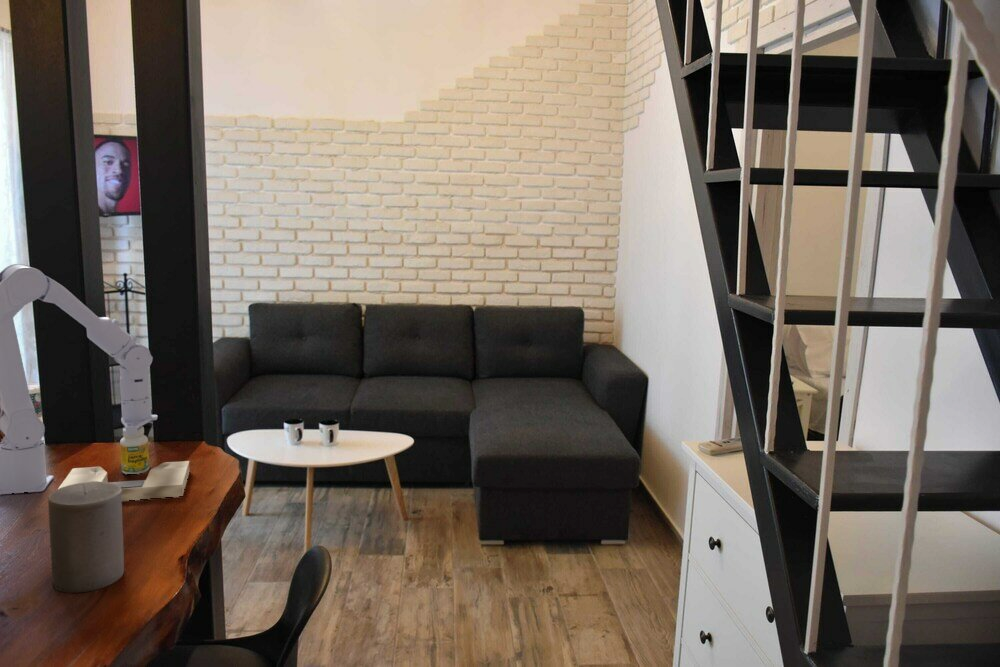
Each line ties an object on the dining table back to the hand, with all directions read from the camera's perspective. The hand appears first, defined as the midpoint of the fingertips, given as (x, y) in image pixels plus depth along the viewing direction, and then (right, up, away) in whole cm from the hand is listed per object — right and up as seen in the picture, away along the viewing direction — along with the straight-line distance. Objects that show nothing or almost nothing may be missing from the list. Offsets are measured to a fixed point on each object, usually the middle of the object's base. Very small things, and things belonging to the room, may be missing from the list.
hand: (139, 457), depth 158 cm
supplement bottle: (+1, -2, -4) cm, 4 cm away
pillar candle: (+16, -10, -47) cm, 51 cm away
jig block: (+4, -4, -13) cm, 14 cm away
